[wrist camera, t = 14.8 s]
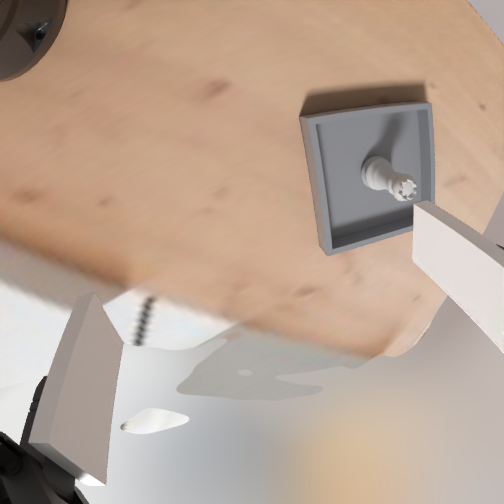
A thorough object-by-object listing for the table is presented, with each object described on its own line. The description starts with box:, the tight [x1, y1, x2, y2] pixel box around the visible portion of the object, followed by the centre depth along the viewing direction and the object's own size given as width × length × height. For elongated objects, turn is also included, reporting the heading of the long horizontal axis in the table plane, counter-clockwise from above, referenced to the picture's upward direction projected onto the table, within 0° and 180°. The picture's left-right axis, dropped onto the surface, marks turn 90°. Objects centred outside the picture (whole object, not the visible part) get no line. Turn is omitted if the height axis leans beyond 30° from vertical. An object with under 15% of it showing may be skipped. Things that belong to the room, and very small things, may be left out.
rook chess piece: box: [361, 156, 417, 201], centre depth 35 cm, size 4×4×8 cm
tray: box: [299, 101, 435, 256], centre depth 38 cm, size 18×18×3 cm
